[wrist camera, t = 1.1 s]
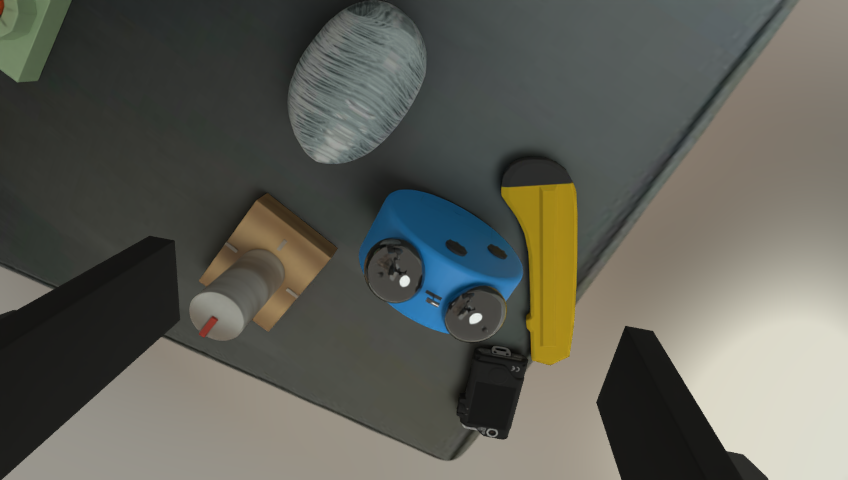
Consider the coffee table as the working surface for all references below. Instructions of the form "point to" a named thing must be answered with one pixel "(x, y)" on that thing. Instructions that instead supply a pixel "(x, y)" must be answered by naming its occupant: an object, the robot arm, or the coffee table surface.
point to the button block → (29, 35)
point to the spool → (356, 81)
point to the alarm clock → (440, 265)
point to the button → (1, 6)
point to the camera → (492, 391)
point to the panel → (275, 253)
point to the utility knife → (546, 250)
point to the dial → (237, 295)
